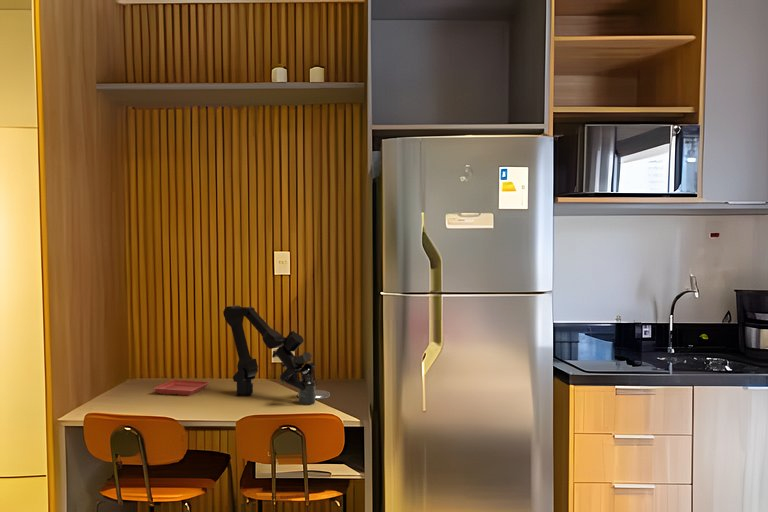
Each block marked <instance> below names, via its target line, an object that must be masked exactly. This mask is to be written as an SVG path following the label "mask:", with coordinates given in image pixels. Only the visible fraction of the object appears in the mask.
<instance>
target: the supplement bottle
mask: <svg viewBox="0 0 768 512" xmlns="http://www.w3.org/2000/svg"><path fill="white" fill-rule="evenodd" d="M313 374H314V373H313ZM313 374H310V373H306V374H301V373H300V375H301V376H300V377H301V380H300V382H301V383H302V385H303V387H304V390H301V389H299V388H298V393H299V398H298V404H299V405H301V404H302V405H301V406H312V405H311V404H313V405H315V404H316V400H315V390H316V386H315V381H316V380H315V381H313ZM314 403H315V404H314Z"/></svg>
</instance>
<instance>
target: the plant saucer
mask: <svg viewBox="0 0 768 512" xmlns="http://www.w3.org/2000/svg"><path fill="white" fill-rule="evenodd" d="M209 384H210V381H202V380H201V381H200V380H199V381H198V380H186V379H185V380H183V379H182V380H181V379H180V380H179V379H172V380H169V381H167V382H165V383H162V384H160V385H157V386H155V387H153V389H154V390H155V392H156V393H157V394H159V393H162V394H161V395H166V394H178V395H177V396H185V395H190V396H191V395H194V394H196V393H199V392H200V391H202V389H203V390H205V388H207V386H208V385H209Z"/></svg>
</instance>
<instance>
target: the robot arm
mask: <svg viewBox="0 0 768 512" xmlns="http://www.w3.org/2000/svg"><path fill="white" fill-rule="evenodd" d="M222 312H223V317H224V319H225V322H226V323H227V324H228V325H229V326H230V329H231V333H232V337H233V341H234V346H235V348H236V353H237V356H238V361H237V371H236V372H235V374H234V375H233V376H232V379H233V382H235V383H236V393H235V396H236V397H246V396H247V397H248V396H249V397H251V396H252V394H253V393H254V383H253V380H255V379H256V375H257V374H258V371H259V369H258V368H259V365H258V362H257V358H253V357H252V356H251V354H250V351H249V346H248V342H247V338H246V335H245V330H244V327H243V321H244V317H245V318H246V319H247V321H248V322H249V323H250V324H251V325H252V326H253V327H254V329H255V330H257V332H258V333H259V334H260V335H261V337H262V341H263V343H264V344H265V346H266V347H267V348H268V349H271V350H272V355H271V356H272V358H273V359H274V358H278V359H279V360H280V362H281V364H282V365H281V366H282V368H285V370H284V371H283V372H282V373H281V374H280V375H279V380H280V381H281V382H282V383H285V384H288V385H291V386H292V387H294V388H297V389H298V390H299V389H301V390H304V387H303V385H302V383H301V382H300V381H301V380H300V379H299V377H298V374H300V375H301V374H306V373H310V374H313V381H315V387H316V386H317V385H318V384H317V381H316V378H315V375H314V370H315V367H316V364H315V363H314V361H313V362H312V354H311V353H310V352H309V351H306V352H303V353H302V354H300V355H295V354H294V353H293V352H296V351H297V349H298V348H299V347H301V345H302V344H303V343H304V337H303V336H302V335H300V334H299V333H297V332H295V331H294V330H292V331H289V333H288V335H286V337H285V336H283V335H282V334H281V333H280V332H279V331H277V330H276V329H273V328H271V327H270V326H269V324H268V323H267V322H266V321H265V320H264V319H263V318H262V317H261V316H260V314H259V313H258V312H257V311H256V309H255V308H254V307H253V306H244V307H242V306H240V305H239V304H238V305H237V304H236V305H229V306H226V307H225V308H224V310H223V311H222ZM273 349H275V350H273ZM309 361H310V362H309Z"/></svg>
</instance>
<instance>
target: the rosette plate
mask: <svg viewBox="0 0 768 512" xmlns="http://www.w3.org/2000/svg"><path fill="white" fill-rule="evenodd" d="M297 396H298V397H299V392H297ZM330 396H331V392H329V391H327V390H324V389H323V390H322V389H315V399H317V400H325V399H328V398H330ZM298 397H297V398H298Z"/></svg>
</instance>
